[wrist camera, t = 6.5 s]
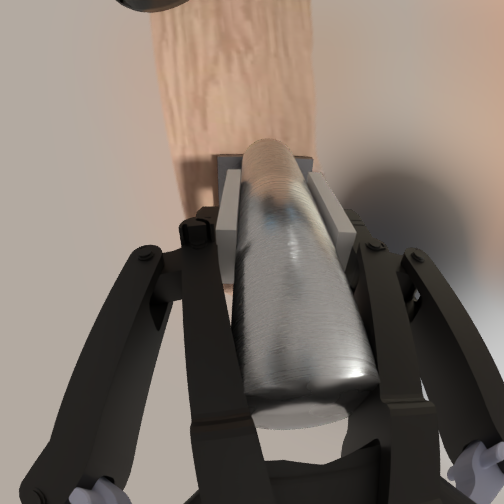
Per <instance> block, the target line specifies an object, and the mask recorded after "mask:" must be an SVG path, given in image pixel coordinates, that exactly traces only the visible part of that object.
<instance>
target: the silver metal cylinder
mask: <svg viewBox="0 0 504 504" xmlns="http://www.w3.org/2000/svg"><path fill="white" fill-rule="evenodd" d="M231 330H232V335H233V339H234V344H235V349H236V354H237V358H238V363H239V368H240V372H241V377H242V381H243V385H244V394H246V399H247V403H248V407H249V411H250V414H251V416H252V418H253V421H254V424H255V427H256V428H264V429H275V430H290V429H301V428H302V429H303V428H310V427H315V426H321V425H325V424H329V423H332V422H336V421H339V420H342V419H345V418H347V417H348V416H349V415H350V414H351V413H352V412H353V411H354V410H355V409H356V408H357V407H358V406H359V405H360V404H361V403H362V402H363V401H364V399H365V398H366V397H367V396H368V395H369V394H370V393H371V392H372V391H373V389H374V388H375V387H376V386H377V385H378V384H379V383H380V379H379V375H378V371H377V367H376V363H375V359H374V355H373V352H372V348H371V345H370V342H369V339H368V336H367V333H366V330H365V327H364V324H363V321H362V318H361V315H360V312H359V309H358V306H357V304H356V301H355V298H354V295H353V293H352V290H351V287H350V284H349V282H348V279H347V276H346V274H345V271H344V269H343V266H342V264H341V261H340V259H339V256H338V254H337V251H336V249H335V246H334V244H333V241H332V239H331V237H330V234H329V232H328V230H327V227H326V225H325V223H324V220H323V218H322V216H321V213H320V211H319V209H318V207H317V205H316V202H315V200H314V198H313V196H312V194H311V191H310V189H309V187H308V185H307V183H306V181H305V179H304V177H303V175H302V173H301V170H300V168H299V166H298V164H297V162H296V160H295V158H294V156H293V154H292V152H291V151H290V149H289V148H288V147H287V146H286V145H285V144H284V143H282V142H281V141H278V140H275V139H261V140H258V141H256V142H254V143H253V144H251V145H250V146H249V147H248V148H247V150H246V151H245V153H244V155H243V159H242V171H241V189H240V203H239V217H238V232H237V248H236V254H235V269H234V285H233V303H232V320H231Z"/></svg>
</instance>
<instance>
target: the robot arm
mask: <svg viewBox="0 0 504 504" xmlns="http://www.w3.org/2000/svg"><path fill="white" fill-rule="evenodd" d="M116 1H118V2H119V3H120V4H121V5H123V6H125V7H127V8H130V9H132V10H135V11H140V12H158V11H164V10H168V9H171V8H174V7H177V6H179V5H181V4H183V3H185V2H187V1H189V0H116ZM307 185H308V187H309V189H310V191H311V194H312V196H313V198H314V200H315V202H316V205H317V207H318V209H319V211H320V213H321V216H322V218H323V220H324V223H325V225H326V227H327V230H328V232H329V234H330V237H331V239H332V241H333V244H334V246H335V249H336V251H337V254H338V256H339V259H340V261H341V264H342V266H343V269H344V271H345V274H346V276H347V279H348V282H349V284H350V287H351V290H352V293H353V295H354V298H355V301H356V304H357V306H358V309H359V312H360V315H361V318H362V321H363V324H364V327H365V330H366V333H367V336H368V339H369V342H370V345H371V348H372V352H373V355H374V359H375V363H376V367H377V371H378V375H379V379H380V383H379V384H378V385H377V386H376V387H375V388H374V389H373V391H372V392H371V393H370V394H369V395H368V396H367V397H366V398H365V399H364V401H363V402H362V403H361V404H360V405H359V406H358V407H357V408H356V409H355V410H354V411H353V412H352V413H351V414H350V415H349V416H348V430H347V434H346V436H345V439H344V441H343V445H342V452H341V458H339V459H337V460H335V461H333V462H330V463H327V464H324V465H318V464H309V463H301V462H293V461H286V460H277V461H264V458H263V454H262V450H261V446H260V443H259V439H258V435H257V431H256V427H255V424H254V421H253V418H252V416H251V414H250V411H249V407H248V403H247V399H246V394H244V385H243V381H242V377H241V372H240V368H239V363H238V358H237V354H236V349H235V344H234V339H233V335H232V330H231V325H230V320H229V315H228V310H227V305H226V300H225V294H224V289H223V284H234V269H235V254H236V248H237V232H238V217H239V203H240V189H241V169H228V171H227V175H226V180H225V185H224V190H223V194H222V199H221V204H220V207H202V208H201V209H200V210H199V211H198V212H197V214H196V217H193V218H189V219H187V220H184V221H183V222H182V223H181V224H180V225H179V233H180V240H181V248H180V249H177V250H174V251H171V252H166V253H162V250H161V248H159V247H158V246H155V245H144V246H141V247H139V248H137V249H135V250H134V251H133V252H132V254H131V255H130V256H129V258H128V260H127V262H126V263H125V265H124V267H123V269H122V270H121V272H120V274H119V276H118V278H117V280H116V281H115V283H114V286H113V287H112V289H111V291H110V293H109V295H108V297H107V299H106V301H105V302H104V304H103V306H102V308H101V310H100V312H99V315H98V317H97V319H96V321H95V323H94V325H93V327H92V329H91V332H90V334H89V336H88V338H87V340H86V342H85V345H84V347H83V349H82V352H81V354H80V356H79V359H78V361H77V364H76V366H75V368H74V371H73V373H72V376H71V379H70V381H69V384H68V387H67V389H66V392H65V395H64V398H63V400H62V403H61V406H60V409H59V412H58V415H57V418H56V421H55V425H54V428H53V432H52V435H51V439H50V441H49V443H48V444H47V446H46V447H45V449H44V450H43V451H42V453H41V454H40V456H39V457H38V458H37V460H36V461H35V463H34V464H33V466H32V467H31V469H30V470H29V472H28V473H27V475H26V476H25V478H24V479H23V481H22V483H21V485H20V488H19V497H20V500H21V503H22V504H132V503H131V501H130V499H129V497H128V496H127V495H126V493H125V492H123V489H124V488H125V486H126V483H127V481H128V478H129V475H130V472H131V468H132V464H133V460H134V455H135V450H136V445H137V440H138V435H139V430H140V426H141V421H142V416H143V413H144V408H145V404H146V400H147V396H148V392H149V387H150V384H151V379H152V375H153V372H154V368H155V364H156V361H157V357H158V353H159V349H160V346H161V343H162V339H163V335H164V332H165V329H166V325H167V322H168V319H169V315H170V312H171V309H172V305H173V301H177V300H181V299H182V306H183V328H184V344H185V358H186V371H187V382H188V392H189V401H190V409H191V419H192V423H191V426H190V436H191V444H192V452H193V458H194V464H195V470H196V476H197V482H198V487H199V490H197V491H196V492H195V493H194V494H193V495H192V496H191V497H190V498H189V499H188V500H187V501H186V502H185V503H184V504H490V503H491V502H492V501H493V500H494V498H495V497H496V496H497V494H498V493H499V491H500V490H501V488H502V487H503V486H504V382H503V380H502V378H501V375H500V373H499V371H498V369H497V366H496V364H495V362H494V360H493V358H492V356H491V354H490V353H489V350H488V349H487V346H486V345H485V343H484V341H483V339H482V337H481V335H480V334H479V332H478V330H477V328H476V327H475V325H474V323H473V321H472V320H471V318H470V316H469V315H468V313H467V311H466V310H465V308H464V306H463V305H462V303H461V302H460V300H459V299H458V297H457V296H456V294H455V293H454V291H453V290H452V288H451V287H450V285H449V284H448V283H447V281H446V279H445V278H444V276H443V275H442V274H441V272H440V271H439V269H438V268H437V267H436V265H435V264H434V263H433V261H432V260H431V259H430V257H429V256H428V255H427V254H426V253H425V252H423V251H422V250H420V249H418V248H407V249H406V250H405V252H404V254H403V255H398V254H394V253H391V252H389V250H388V247H387V246H386V245H385V244H384V243H383V242H382V241H380V240H378V239H375V238H373V237H372V236H371V234H370V232H369V231H368V229H367V228H366V226H365V224H364V223H363V221H362V220H361V218H360V216H359V215H358V214H357V213H355V212H354V211H353V210H349V209H343V208H342V206H341V205H340V203H339V201H338V200H337V198H336V197H335V195H334V193H333V191H332V190H331V188H330V187H329V185H328V183H327V182H326V180H325V179H324V177H323V176H322V174H321V173H320V172H308V177H307ZM417 290H418V292H419V293H420V297H419V299H418V300H417V299H416V298H415V294H416V292H417ZM420 377H421V379H420ZM421 380H422V383H423V385H424V388H425V391H426V393H427V396H428V399H429V401H427V400H425V399H424V397H423V394H422V386H421ZM438 429H439V430H438ZM439 433H440V436H441V439H442V442H443V445H444V448H445V449H446V452H447V454H448V456H449V458H450V460H451V462H452V463H453V466H452V467H450V469H449V470H448V473H447V476H448V479H449V480H451V481H454V480H455V482H456V488H455V487H454V486H452V485H451V484H450V483H449V482H447V481H446V480H445V479H444V478H442V477H441V476H440V448H439V447H440V445H439Z"/></svg>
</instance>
